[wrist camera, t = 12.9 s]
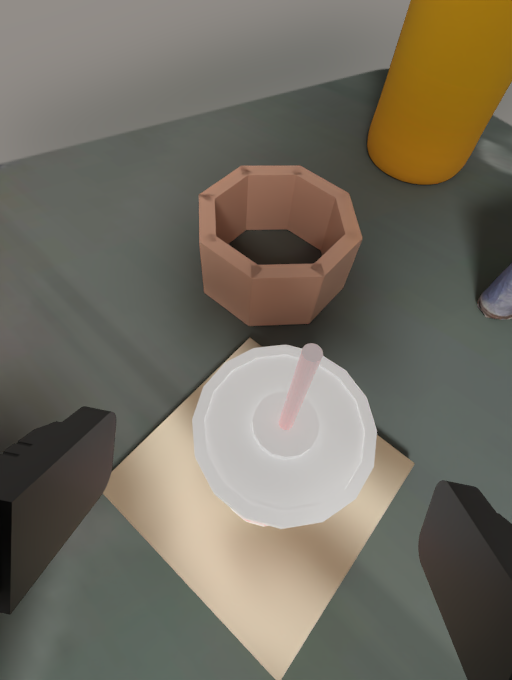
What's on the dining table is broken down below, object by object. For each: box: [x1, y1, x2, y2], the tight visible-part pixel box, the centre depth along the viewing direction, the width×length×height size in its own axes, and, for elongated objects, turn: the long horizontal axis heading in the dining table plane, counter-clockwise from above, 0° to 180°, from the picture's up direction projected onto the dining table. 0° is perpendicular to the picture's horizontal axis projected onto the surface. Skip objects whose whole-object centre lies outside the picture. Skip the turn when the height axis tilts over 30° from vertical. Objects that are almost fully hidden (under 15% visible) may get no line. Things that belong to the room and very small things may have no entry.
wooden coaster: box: [103, 338, 415, 680], centre depth 21 cm, size 12×12×1 cm
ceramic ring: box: [199, 166, 363, 326], centre depth 27 cm, size 10×10×5 cm
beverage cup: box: [192, 343, 377, 529], centre depth 15 cm, size 6×6×14 cm
